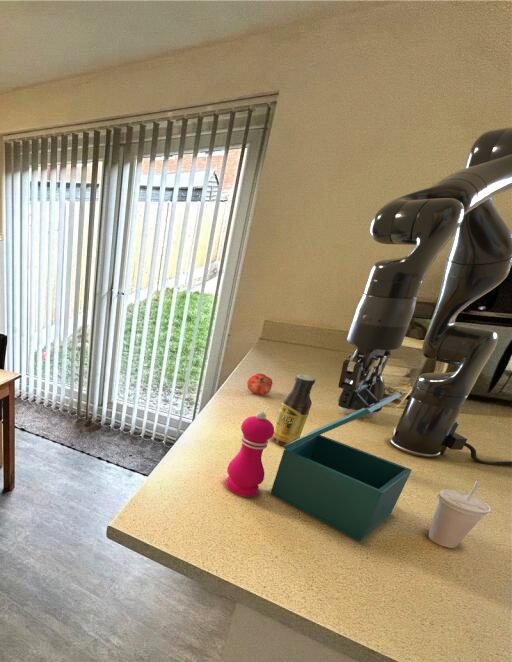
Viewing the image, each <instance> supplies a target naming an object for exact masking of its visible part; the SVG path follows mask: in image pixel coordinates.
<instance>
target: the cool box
mask: <svg viewBox="0 0 512 662" xmlns="http://www.w3.org/2000/svg"><path fill="white" fill-rule="evenodd" d="M412 471H413V469H412V468H409V467H407V466H403V465H400V464H398V463H396V462H392V461H390V460H387V459H385V458H383V457H380V456H377V455H375V454H372V453H370V452H366V451H364V450H362V449H358V448H357V447H354V446H352V445H351V446H350V445H349V444H346V443H343V442H340V441H338V440H335V439H333V438H330V437H327V436H325V435H323V434H321V435H318V436H316V437H314V438H312V439H309V440H307V441H305V442H302V443H300V444H298V445H296V446H293V447H291V448H289V449H285V448H284V449H283V451H282V455H281V458H280V461H279V464H278V467H277V471H276V474H275V477H274V481H273V484H272V487H271V490H270V495H271V496H273V497H275V498H276V499H279V500H281V501H282V502H284V503H286V504H288V505H290V506H292V507H294V508H295V509H297V510H299V511H301V512H303V513H305V514H307V515H309V516H311V518H312V517H313V518H315V519H316V520H318V521H320V522H322V523H324V524H325V525H327V526H329V527H331V528H333V529H335V530H336V531H338V532H340V533H342V534H345V535H346V536H348V537H349V538H352V539H354V540H355V541H358V542H362V541H363V540H364V539H365V538H367V537H368V536H369V535H370V534H371V533H373V532H374V531H375V530H376V529H377V528H378V527H380V526H381V525H382V524H383V523H384V522H385V521H386V520H388V519H389V518H390V517H391V515H392V513H393V510H394V508H395V507H396V504H397V503H398V500H399V498H400V496H401V494H402V492H403V490H404V488H405V485H406V483H407V482H408V479H409V477H410V476H411V473H412Z"/></svg>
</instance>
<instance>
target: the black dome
mask: <svg viewBox="0 0 512 662" xmlns="http://www.w3.org/2000/svg"><path fill="white" fill-rule="evenodd" d="M349 383H350V384H352V383H353V381H352V380H350V382H349ZM371 385H372V384H371ZM385 386H386V385H385V380H384V377H383V375H382V374H381V378H379V380H376V382H375V383H374V385H372V387H371V390H370V392H371V393H372V394H373V395H374V396H375V397H376V398H377V399H378V400H379V401H380V400H382V399H384V398H385V395H386V393H385V392H386V391H385V389H386V388H385ZM341 394H342V392H341V393H340V394H339V396H338V399H337V401H338V402H339V400H340V397H341ZM366 402H367V403H368V404H369V405H371V404H373V402H372V401H371V400H370V399H369V398H367V400H366ZM338 407H339V409H340V411H341V412H342V414H344V415H345V416H347V415H349V414H351V413H353V412H356V411H358V410H360V409H362V408H364V407H363V406H362V405H361V404H360V403H359V402H358V401H356V402H355V405H354V407H353V408H352V409H346V408H343V407H340V406H339V405H338ZM383 407H384V406H382V407H380V408H378V409H376V410H374V411H373V412H371V413H369V414H366V415H364V416H362V417H359V418H358V419H362V420H363V419H364V420H366V419H370V418H373V417H375V416H376V415H377V414H378V413H380V412H381V411H382V410H383Z"/></svg>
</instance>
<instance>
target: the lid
mask: <svg viewBox="0 0 512 662" xmlns="http://www.w3.org/2000/svg"><path fill="white" fill-rule="evenodd" d="M367 388H368V384H367V383H366V382H364V383H363V385H362V387H361V390H360V391H359V392H361V391H363V392H364V393H365V394H366V395H367V396H368V398H369V399H370V400H371V401H372V402H373V404H371V405H369V404H368V403H367V402H366V401H365V400H364V399H363V398H362V397H361V396H360V395H359V394H358V396H357V401H358V402H359V403H360V404H361V405H362V406H363V407H364V408H362V409H360V410H358V411H356V412H353V413H351V414H349V415H345V416H343V417H340V418H338V419H335V420H333V421H332V422H330V423H327V424H325V425H322V426H320V427H318V428H316V429H313V430H312V431H310V432H308V433H307V434H304V435H303V436H300V438H299V439H297V440H295V441H293V442H291V443H289V444H287V445H285V446H282V447H283V448H284V450H285V449H289V448H291V447H293V446H296V445H298V444H300V443H302V442H305V441H307V440H309V439H312V438H314V437H316V436H318V435H323V434H325V433H327V432H329V431H332V430H335V429H337V428H339V427H342V426H343V425H345V424H348V423H350V422H353V421H355V420H357V419H359V417H362V416H364V415H366V414H369V413H371V412H373V411H374V410H376V409H378V408H380V407H382V406H383V407H384V406H386V405H387V404H389V403H391V402H392V401H395V400H396V399H399V398H400V397H402V394H401V393H400V392H399V391H398V392H395V393H394V394H391V395H388V396H386V397H384V399H382V400H380V401H379V400H378V399H377V398H376V397H375V396H374V395H373V394H372V393H371V392H370V391H369V390H368V389H367ZM383 407H382V408H383Z"/></svg>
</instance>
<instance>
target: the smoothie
mask: <svg viewBox="0 0 512 662" xmlns="http://www.w3.org/2000/svg"><path fill="white" fill-rule="evenodd" d="M481 483H482V481H481V480H475V483H474V484H473V487H472V488H471V490H470V492H469V493H466V492H463V491H459V490H456V489H455V490H454V489H443V490H440V491H439V493H438V494H437V496H436V497H437V500H438V501H437V504H436V507H435V511H434V515H433V518H432V521H431V524H430V529H429V532H428V538H429V539H430V541H432V542H434V543H435V544H437V545H440V546H442V547H445V548H449V549H454V548H456V547H457V546H458V545H459V544H460V543H461V542H462V541H463V540H464V538H465V537H466V536H467V535H468V534H469V533H470V532H471V530H473V528H474V527H476V525H477V524H478V523H479V522H480V521H481V520H482V518H484V517H487V516H488V515H489V514H490V512H491V507H490V505H488V503H486V502H485V501H483V500H482V499H480V498H478V497H476V496H475V494H476V493H477V490H479V487H480V486H481Z"/></svg>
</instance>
